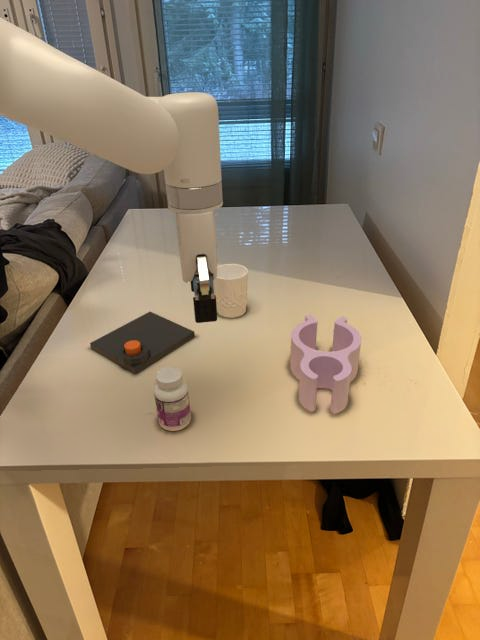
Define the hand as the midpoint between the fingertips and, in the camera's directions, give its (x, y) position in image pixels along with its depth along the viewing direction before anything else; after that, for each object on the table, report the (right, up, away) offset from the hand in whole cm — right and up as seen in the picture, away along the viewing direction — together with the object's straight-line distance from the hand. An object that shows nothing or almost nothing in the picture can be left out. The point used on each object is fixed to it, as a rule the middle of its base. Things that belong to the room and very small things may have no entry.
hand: (203, 304), depth 72 cm
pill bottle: (-5, -19, +5) cm, 20 cm away
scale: (-14, -7, +25) cm, 29 cm away
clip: (+21, -13, +14) cm, 28 cm away
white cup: (+4, 0, +35) cm, 35 cm away
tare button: (-15, -8, +18) cm, 24 cm away
